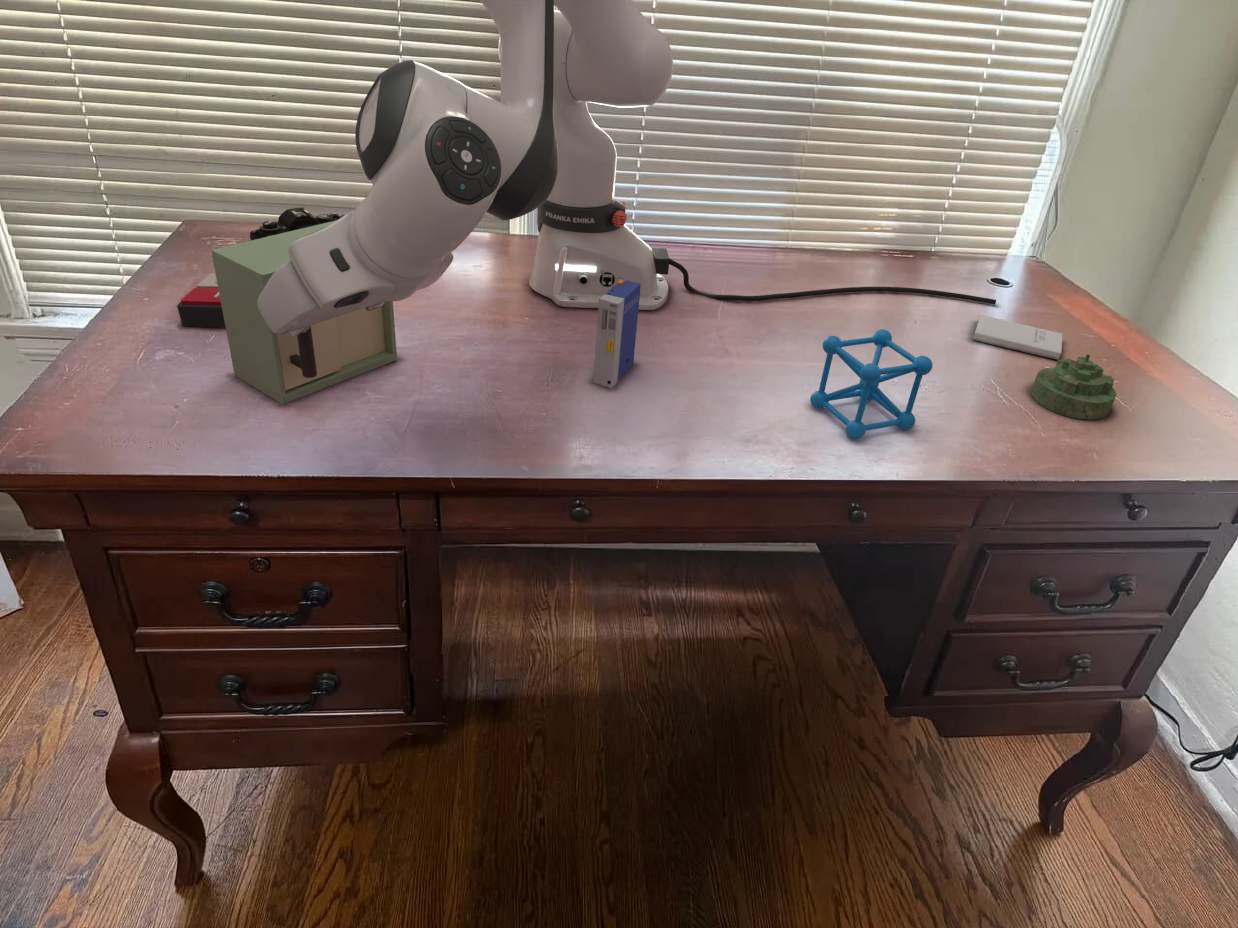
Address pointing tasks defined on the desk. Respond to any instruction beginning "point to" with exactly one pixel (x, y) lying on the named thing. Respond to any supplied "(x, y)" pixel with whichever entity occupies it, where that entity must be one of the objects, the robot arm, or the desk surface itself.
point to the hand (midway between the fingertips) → (333, 315)
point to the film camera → (292, 222)
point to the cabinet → (256, 345)
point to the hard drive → (1018, 337)
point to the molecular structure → (870, 382)
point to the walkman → (616, 332)
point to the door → (309, 354)
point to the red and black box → (202, 305)
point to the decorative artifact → (1075, 389)
